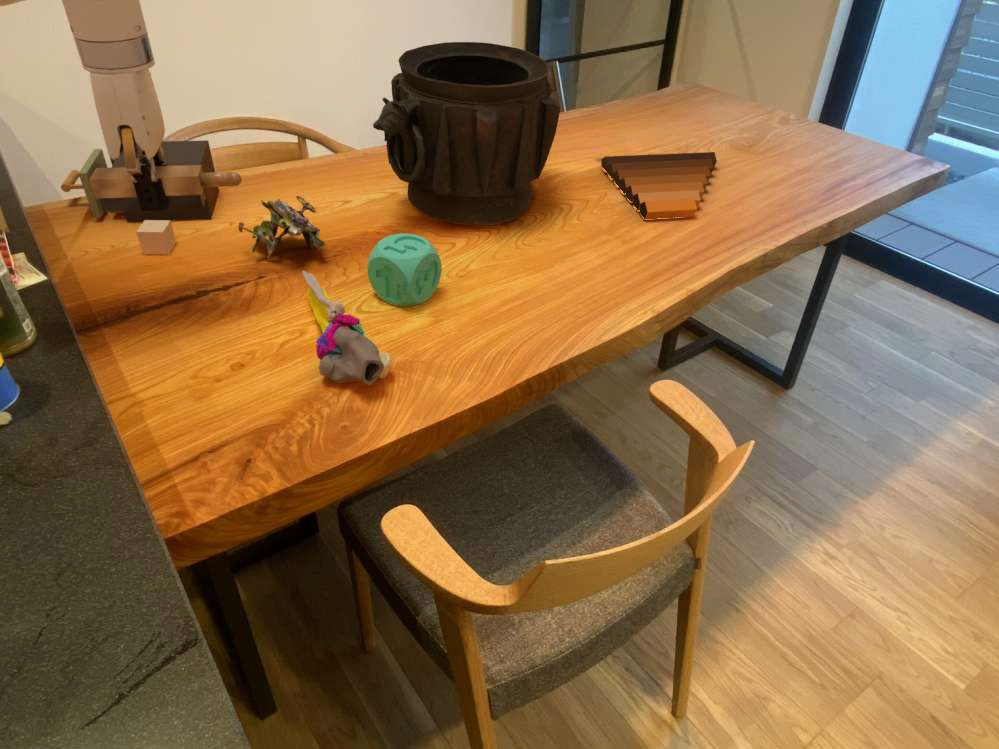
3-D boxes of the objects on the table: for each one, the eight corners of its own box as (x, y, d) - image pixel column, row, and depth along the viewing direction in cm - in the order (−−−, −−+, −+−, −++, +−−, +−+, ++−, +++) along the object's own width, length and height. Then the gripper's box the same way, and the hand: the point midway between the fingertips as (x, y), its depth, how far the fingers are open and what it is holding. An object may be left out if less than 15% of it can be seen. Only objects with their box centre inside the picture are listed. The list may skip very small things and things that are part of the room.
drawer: (66, 218, 116) (49, 174, 111) (82, 192, 124) (67, 149, 119) (172, 214, 119) (160, 171, 114) (181, 189, 127) (171, 147, 122)
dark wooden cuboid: (127, 222, 118) (110, 168, 112) (141, 193, 126) (125, 141, 120) (211, 219, 120) (199, 166, 114) (219, 191, 129) (208, 140, 123)
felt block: (136, 231, 107) (144, 219, 111) (143, 254, 110) (151, 242, 113) (162, 232, 108) (170, 220, 111) (169, 254, 110) (176, 242, 113)
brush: (100, 213, 88) (88, 179, 85) (107, 201, 90) (96, 167, 87) (244, 207, 91) (238, 174, 88) (247, 195, 93) (240, 163, 91)
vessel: (366, 228, 120) (355, 79, 105) (413, 159, 145) (409, 30, 129) (540, 250, 118) (555, 100, 102) (557, 176, 142) (572, 46, 127)
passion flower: (313, 275, 118) (343, 235, 109) (257, 288, 110) (284, 246, 102) (282, 221, 119) (308, 177, 111) (223, 230, 111) (247, 183, 103)
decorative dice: (368, 295, 104) (364, 248, 99) (401, 273, 110) (399, 227, 105) (410, 313, 101) (409, 265, 96) (442, 289, 107) (442, 243, 101)
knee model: (331, 325, 106) (391, 405, 87) (279, 317, 101) (330, 400, 83) (347, 269, 103) (413, 341, 84) (294, 258, 98) (352, 331, 80)
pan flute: (706, 164, 152) (600, 168, 147) (710, 148, 150) (602, 153, 145) (765, 215, 133) (645, 222, 128) (770, 198, 131) (648, 205, 126)
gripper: (97, 33, 84) (140, 177, 95) (58, 73, 71) (112, 233, 83) (163, 33, 85) (197, 175, 97) (136, 72, 73) (179, 230, 84)
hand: (158, 200), depth 90 cm, fingers closed on brush, 3 cm apart
